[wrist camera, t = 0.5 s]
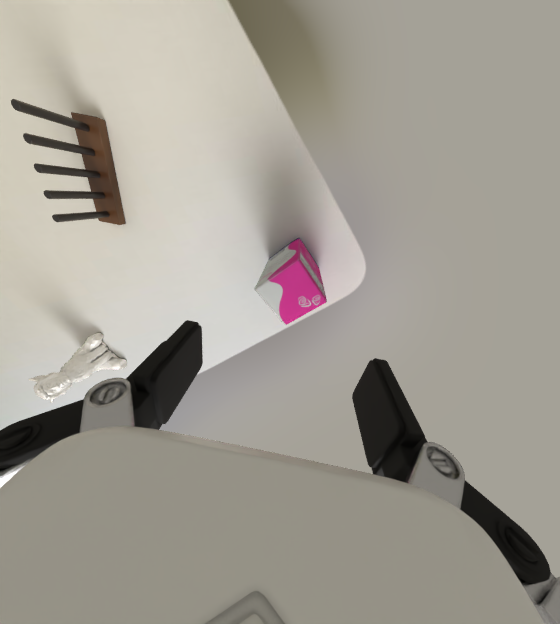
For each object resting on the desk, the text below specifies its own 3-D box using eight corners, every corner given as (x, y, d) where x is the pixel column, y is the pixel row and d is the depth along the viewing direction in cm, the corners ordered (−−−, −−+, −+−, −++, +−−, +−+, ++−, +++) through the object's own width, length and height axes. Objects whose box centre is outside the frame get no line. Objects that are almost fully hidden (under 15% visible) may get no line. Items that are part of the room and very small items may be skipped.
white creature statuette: (131, 363, 46) (80, 411, 36) (104, 370, 49) (50, 417, 38) (100, 330, 43) (34, 373, 32) (73, 340, 45) (3, 383, 34)
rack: (80, 115, 25) (-9, 83, 18) (105, 120, 25) (26, 89, 18) (105, 220, 31) (46, 226, 24) (125, 224, 31) (72, 232, 24)
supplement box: (289, 289, 33) (283, 327, 23) (268, 259, 31) (250, 287, 21) (320, 269, 31) (328, 303, 21) (299, 236, 29) (296, 256, 19)
